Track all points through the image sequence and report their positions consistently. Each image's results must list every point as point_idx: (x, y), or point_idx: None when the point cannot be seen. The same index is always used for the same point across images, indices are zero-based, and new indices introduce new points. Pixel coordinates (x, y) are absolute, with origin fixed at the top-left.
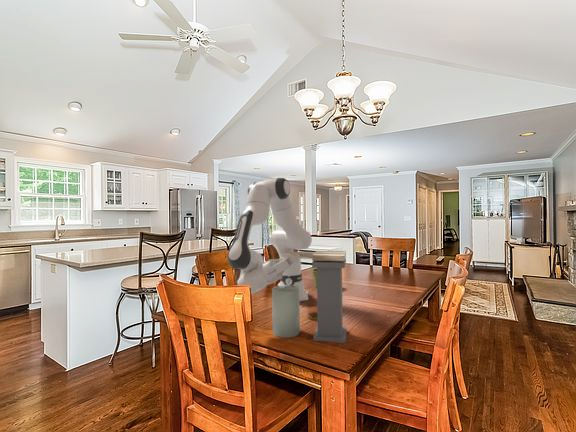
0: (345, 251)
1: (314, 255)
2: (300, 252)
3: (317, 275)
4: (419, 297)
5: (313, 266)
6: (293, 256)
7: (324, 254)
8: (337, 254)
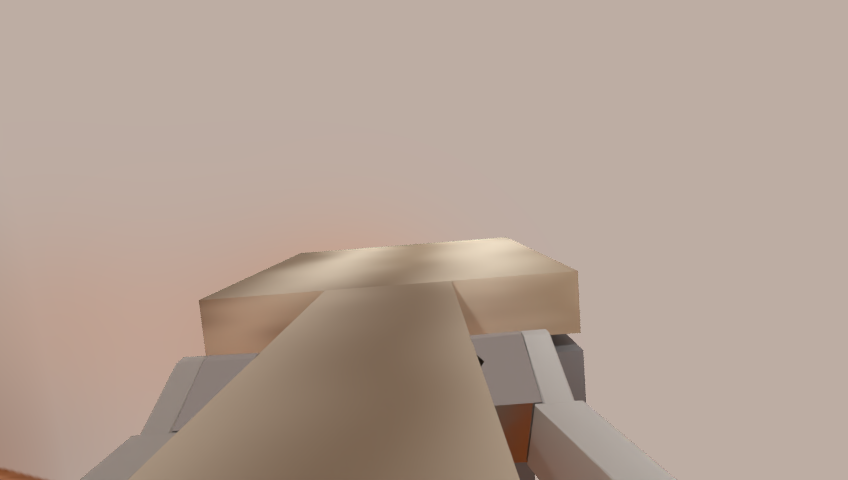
0: (312, 252)
1: (569, 268)
2: (335, 347)
3: (534, 477)
4: (19, 472)
5: (580, 393)
6: (614, 431)
7: (479, 258)
8: (457, 246)
